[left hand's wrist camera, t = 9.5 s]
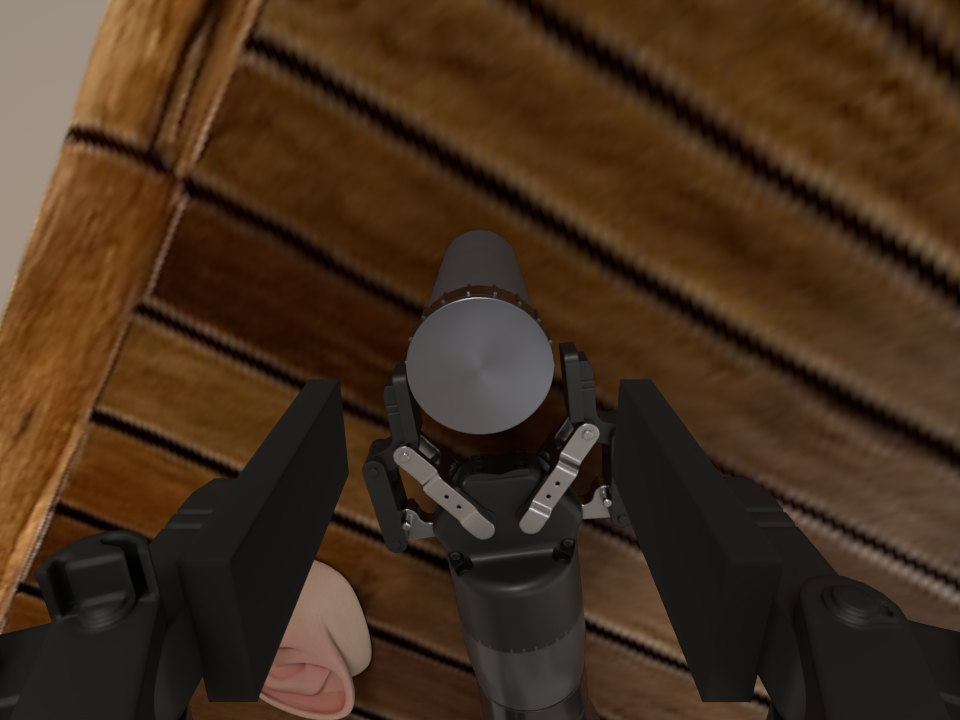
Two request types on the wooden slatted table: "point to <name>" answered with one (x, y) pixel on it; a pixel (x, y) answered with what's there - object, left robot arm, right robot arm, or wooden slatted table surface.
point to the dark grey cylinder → (479, 265)
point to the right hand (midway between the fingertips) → (483, 357)
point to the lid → (480, 360)
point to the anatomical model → (320, 650)
